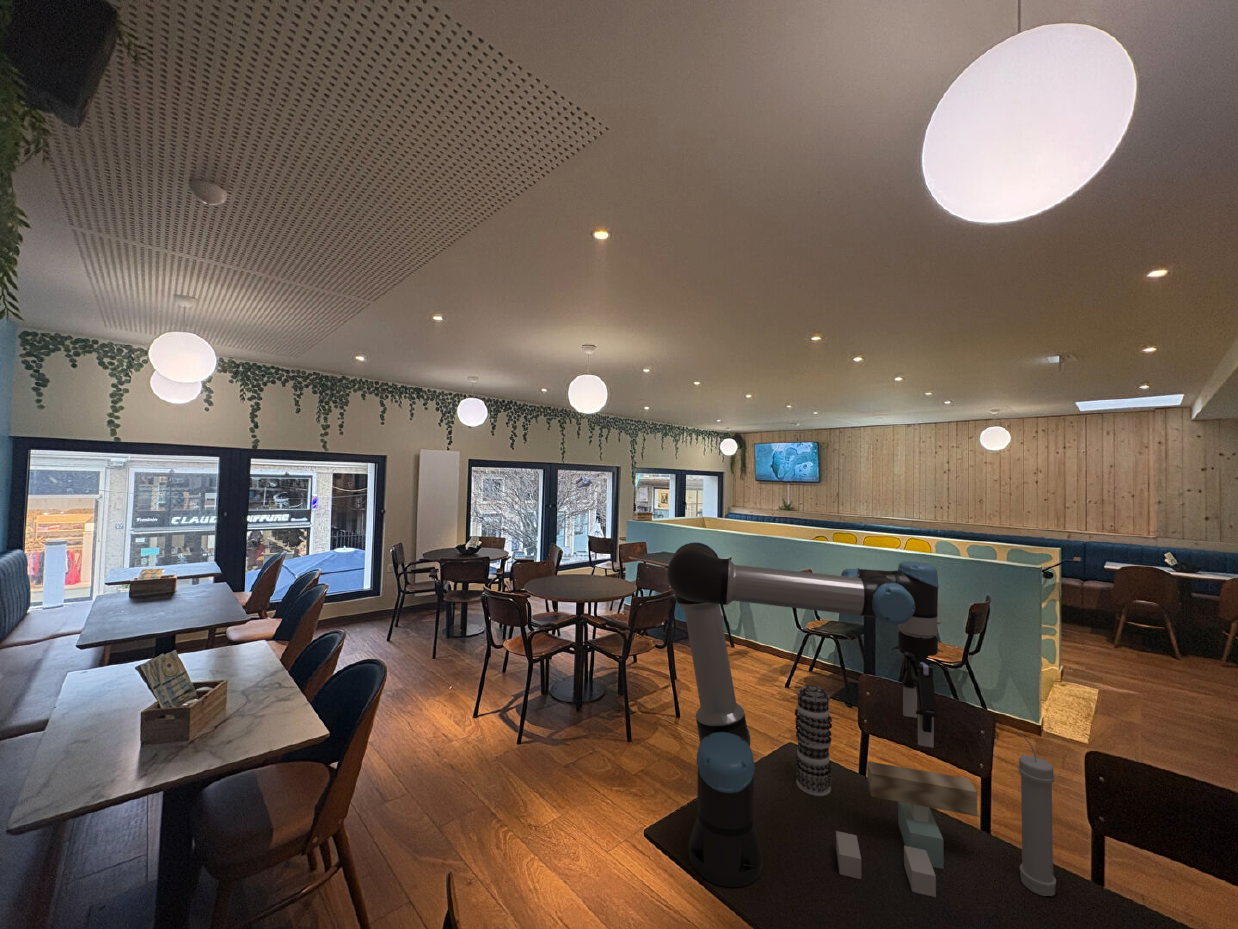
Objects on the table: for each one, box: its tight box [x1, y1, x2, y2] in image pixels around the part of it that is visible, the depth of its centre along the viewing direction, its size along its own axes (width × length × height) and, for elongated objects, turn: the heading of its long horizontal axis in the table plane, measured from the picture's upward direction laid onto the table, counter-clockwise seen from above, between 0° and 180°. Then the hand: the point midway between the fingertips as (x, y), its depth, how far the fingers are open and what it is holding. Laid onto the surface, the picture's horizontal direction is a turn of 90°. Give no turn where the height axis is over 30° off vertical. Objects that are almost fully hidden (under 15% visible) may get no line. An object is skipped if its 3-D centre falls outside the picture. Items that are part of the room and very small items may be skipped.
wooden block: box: [866, 760, 978, 817], centre depth 109 cm, size 20×5×5 cm, turn 71°
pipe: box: [1014, 730, 1057, 897], centre depth 99 cm, size 6×6×30 cm
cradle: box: [835, 830, 937, 898], centre depth 101 cm, size 17×7×4 cm, turn 71°
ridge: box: [897, 801, 945, 870], centre depth 109 cm, size 6×12×10 cm, turn 161°
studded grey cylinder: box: [794, 684, 833, 797], centre depth 130 cm, size 9×9×25 cm
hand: (917, 730), depth 110 cm, fingers open, 13 cm apart
